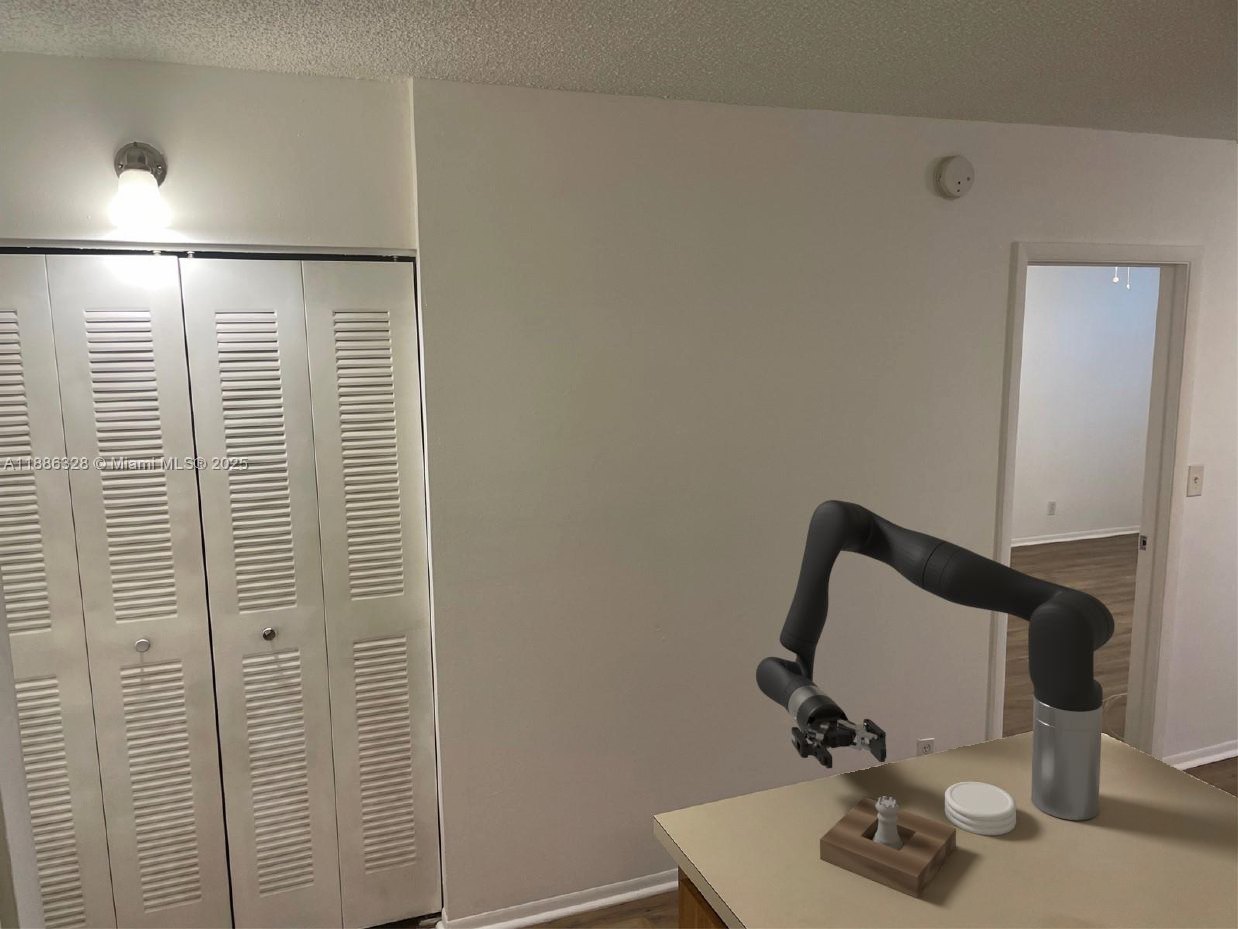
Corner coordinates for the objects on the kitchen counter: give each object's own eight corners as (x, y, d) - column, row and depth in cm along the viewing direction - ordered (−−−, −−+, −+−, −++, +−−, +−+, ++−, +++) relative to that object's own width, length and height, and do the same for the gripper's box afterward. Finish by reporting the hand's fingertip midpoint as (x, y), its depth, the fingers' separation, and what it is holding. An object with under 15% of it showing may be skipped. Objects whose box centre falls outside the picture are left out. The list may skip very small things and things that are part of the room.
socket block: (864, 815, 129) (863, 797, 129) (955, 847, 120) (956, 828, 120) (820, 858, 119) (819, 839, 119) (917, 898, 110) (917, 877, 109)
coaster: (1009, 804, 131) (1009, 783, 131) (1022, 841, 122) (1022, 818, 121) (941, 798, 134) (941, 777, 133) (948, 833, 124) (948, 811, 124)
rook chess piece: (905, 863, 117) (906, 810, 116) (872, 861, 118) (872, 808, 117) (901, 845, 121) (901, 793, 120) (869, 842, 122) (869, 791, 121)
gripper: (776, 698, 143) (812, 742, 127) (855, 689, 145) (900, 731, 129) (777, 740, 144) (813, 788, 128) (855, 730, 146) (900, 777, 130)
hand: (856, 759), depth 128 cm, fingers open, 8 cm apart
